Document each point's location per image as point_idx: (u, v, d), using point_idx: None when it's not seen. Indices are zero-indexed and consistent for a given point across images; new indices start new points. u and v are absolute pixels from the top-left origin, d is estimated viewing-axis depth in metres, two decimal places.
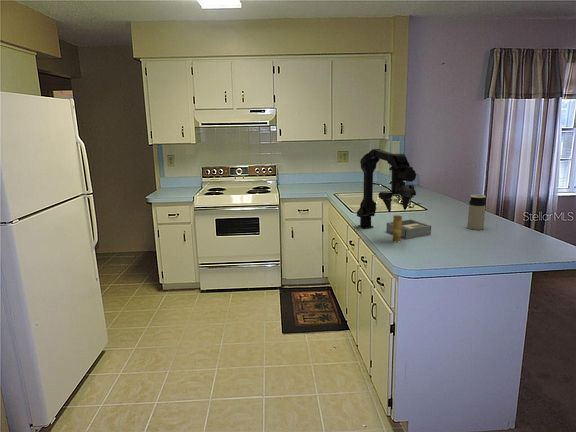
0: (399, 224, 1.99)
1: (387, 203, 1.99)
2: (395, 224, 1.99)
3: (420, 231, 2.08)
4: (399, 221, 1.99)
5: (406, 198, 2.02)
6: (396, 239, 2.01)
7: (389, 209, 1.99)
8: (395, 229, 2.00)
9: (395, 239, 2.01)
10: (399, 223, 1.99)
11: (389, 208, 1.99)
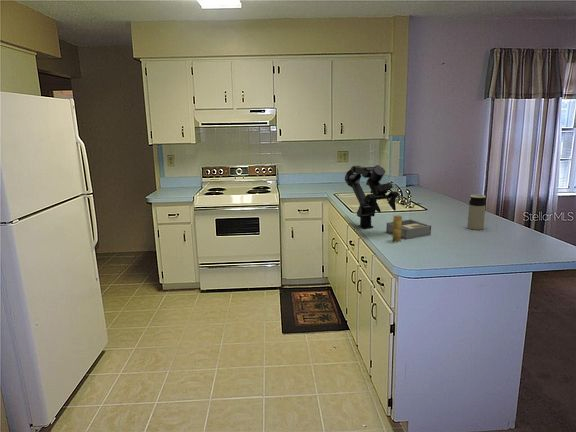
0: (399, 224, 1.99)
1: (374, 205, 2.07)
2: (395, 224, 1.99)
3: (420, 231, 2.08)
4: (399, 221, 1.99)
5: (391, 200, 2.11)
6: (396, 239, 2.01)
7: (378, 209, 2.05)
8: (395, 229, 2.00)
9: (395, 239, 2.01)
10: (399, 223, 1.99)
11: (378, 208, 2.05)
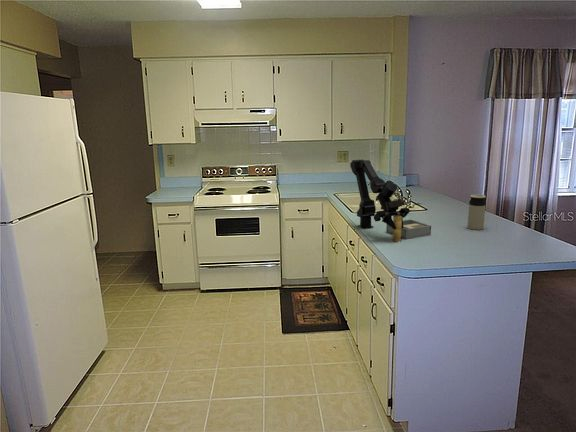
0: (399, 224, 1.99)
1: (389, 222, 2.01)
2: (395, 224, 1.99)
3: (420, 231, 2.08)
4: (399, 221, 1.99)
5: None
6: (396, 239, 2.01)
7: (393, 225, 1.99)
8: (395, 229, 2.00)
9: (395, 239, 2.01)
10: (399, 223, 1.99)
11: (393, 224, 1.99)
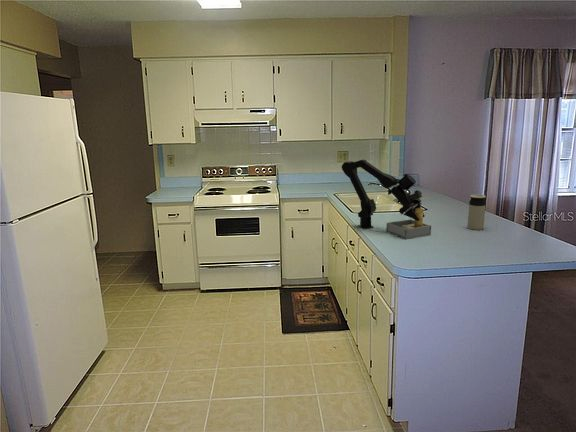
0: (422, 216, 2.10)
1: (411, 214, 2.08)
2: (419, 216, 2.09)
3: (420, 231, 2.08)
4: (422, 213, 2.09)
5: (417, 207, 2.15)
6: None
7: (417, 217, 2.07)
8: (419, 221, 2.10)
9: None
10: (422, 215, 2.10)
11: (416, 216, 2.07)
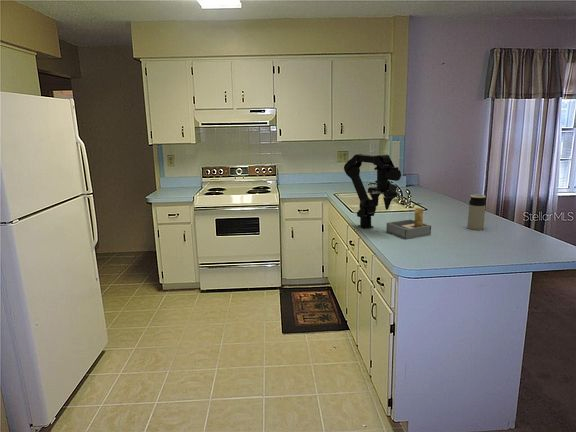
0: (422, 216, 2.10)
1: (388, 201, 2.11)
2: (419, 216, 2.09)
3: (420, 231, 2.08)
4: (422, 213, 2.10)
5: (377, 195, 2.21)
6: None
7: (388, 206, 2.13)
8: (419, 221, 2.10)
9: None
10: (422, 215, 2.10)
11: None
